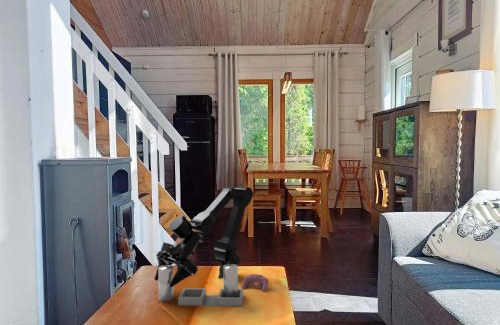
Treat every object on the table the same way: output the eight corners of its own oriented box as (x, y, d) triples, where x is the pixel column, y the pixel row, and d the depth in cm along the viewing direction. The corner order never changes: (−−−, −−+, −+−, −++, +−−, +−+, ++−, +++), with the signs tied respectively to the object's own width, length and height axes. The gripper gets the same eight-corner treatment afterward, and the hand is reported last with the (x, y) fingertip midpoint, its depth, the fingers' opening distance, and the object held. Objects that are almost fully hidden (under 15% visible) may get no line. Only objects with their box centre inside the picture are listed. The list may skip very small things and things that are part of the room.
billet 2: (232, 296, 128) (232, 263, 127) (240, 301, 124) (240, 266, 124) (220, 300, 125) (220, 266, 124) (228, 304, 121) (228, 269, 120)
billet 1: (169, 296, 131) (169, 264, 130) (175, 301, 127) (175, 267, 126) (156, 300, 128) (156, 267, 127) (162, 305, 124) (161, 270, 123)
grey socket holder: (244, 298, 128) (244, 288, 128) (242, 309, 120) (242, 298, 120) (183, 297, 130) (183, 288, 130) (177, 308, 121) (177, 297, 121)
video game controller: (268, 295, 135) (270, 276, 138) (265, 294, 131) (267, 274, 134) (243, 292, 138) (246, 273, 141) (239, 291, 134) (242, 271, 137)
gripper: (160, 229, 136) (133, 265, 128) (190, 237, 123) (163, 277, 115) (177, 245, 142) (153, 281, 134) (208, 255, 129) (183, 294, 121)
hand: (162, 283), depth 126 cm, fingers open, 9 cm apart
